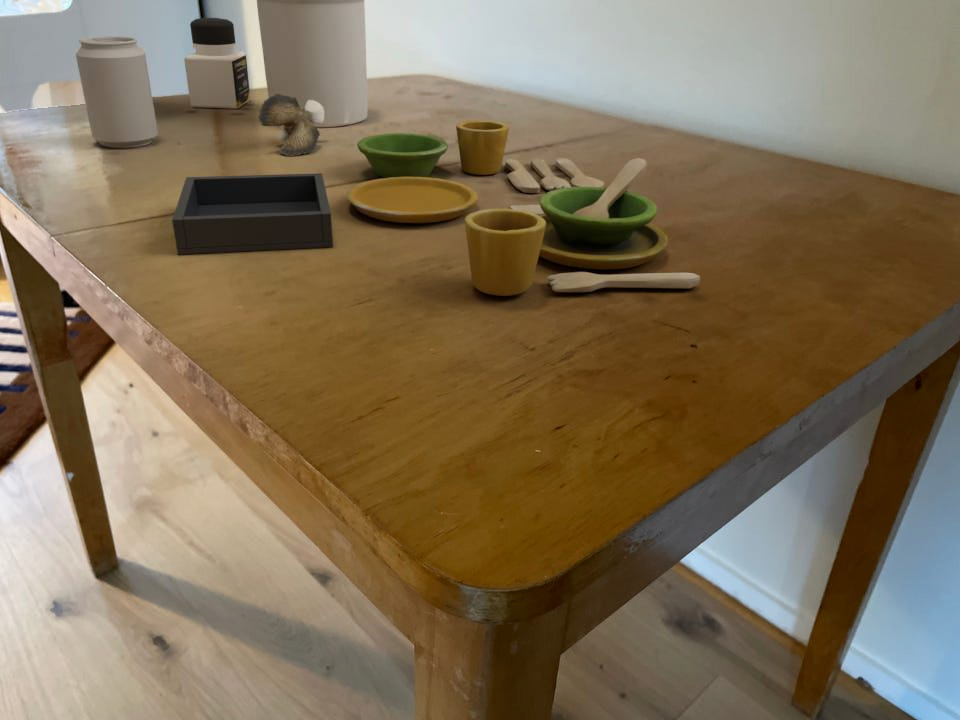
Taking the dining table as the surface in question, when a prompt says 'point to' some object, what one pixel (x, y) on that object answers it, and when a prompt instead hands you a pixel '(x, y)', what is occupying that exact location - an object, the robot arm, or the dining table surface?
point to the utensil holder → (317, 55)
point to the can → (117, 91)
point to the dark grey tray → (252, 213)
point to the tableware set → (519, 213)
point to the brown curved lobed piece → (293, 122)
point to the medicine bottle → (216, 66)
